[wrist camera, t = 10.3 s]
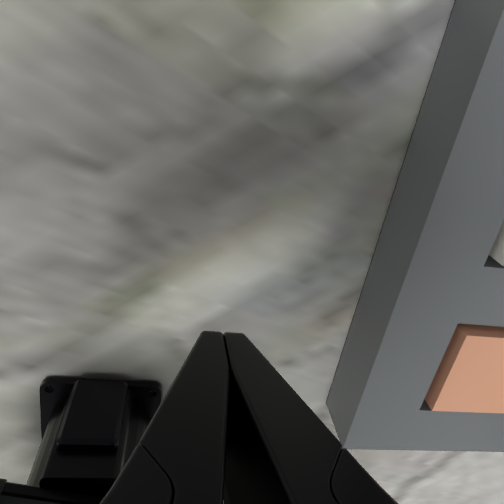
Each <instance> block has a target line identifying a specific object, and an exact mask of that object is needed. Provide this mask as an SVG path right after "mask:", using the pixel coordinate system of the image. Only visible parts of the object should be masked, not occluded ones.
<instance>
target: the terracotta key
mask: <svg viewBox="0 0 504 504" xmlns="http://www.w3.org/2000/svg"><path fill="white" fill-rule="evenodd" d="M425 401H426V402H427V404H428V405H429V407H430V409H431V410H432V411H448V412H476V413H504V327H499V326H486V325H473V324H460V323H458V325H457V327H456V329H455V331H454V334H453V336H452V338H451V340H450V343H449V345H448V347H447V349H446V352H445V354H444V356H443V358H442V360H441V363H440V365H439V367H438V369H437V372H436V374H435V376H434V378H433V381H432V383H431V385H430V387H429V390H428V392H427V394H426V396H425Z"/></svg>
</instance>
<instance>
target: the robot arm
mask: <svg viewBox="0 0 504 504" xmlns="http://www.w3.org/2000/svg"><path fill="white" fill-rule="evenodd" d="M48 386H51V387H53V388H49V387H48ZM151 390H154V391H155V392H151ZM161 392H162V387H161V385H160V384H159V383H156V382H144V381H121V380H98V379H75V378H52V377H51V378H46V379H44V380H43V381H42V384H41V386H40V408H41V431H42V442H41V445H40V447H39V450H38V453H37V456H36V459H35V462H34V464H33V467H32V470H31V473H30V476H29V478H28V481H27V484H26V485H23V484H16V483H10V482H6V481H7V480H6V479H0V504H223V500H224V504H398V503H397V502H396V501H395V500H394V499H393V498H392V497H391V496H390V495H389V494H388V493H387V492H386V491H385V490H384V489H383V488H382V487H381V486H380V485H379V484H378V483H377V482H376V481H375V480H374V479H373V478H372V477H371V476H370V475H369V474H368V473H367V471H366V470H365V469H364V468H363V467H362V466H361V465H360V464H359V463H358V462H357V461H356V459H355V458H354V457H353V456H352V455H351V454H350V453H349V452H348V450H347V449H346V448H343V445H342V444H341V443H340V442H339V441H338V439H337V438H336V437H335V436H334V435H333V434H332V433H331V431H330V430H329V429H328V428H327V427H326V426H325V425H324V424H323V422H322V421H321V420H320V419H319V418H318V417H317V416H316V415H315V413H314V412H313V411H312V410H311V409H310V408H309V407H308V406H307V404H306V403H305V402H304V401H303V400H302V399H301V398H300V396H299V395H298V394H297V393H296V392H295V391H294V390H293V389H292V387H291V386H290V385H289V384H288V383H287V382H286V381H285V380H284V378H283V377H282V376H281V375H280V374H279V373H278V372H277V371H276V369H275V368H274V367H273V366H272V365H271V364H270V363H269V361H268V360H267V359H266V358H265V357H264V356H263V355H262V354H261V352H260V351H259V350H258V349H257V348H256V347H255V346H254V345H253V343H252V342H251V341H250V340H249V339H248V338H247V337H246V336H245V335H244V334H243V333H231V332H225V333H224V334H222V333H221V332H215V331H203V332H202V333H201V334H200V336H199V338H198V339H197V341H196V343H195V345H194V346H193V348H192V350H191V352H190V353H189V355H188V357H187V359H186V360H185V362H184V364H183V366H182V367H181V369H180V371H179V373H178V374H177V376H176V378H175V380H174V381H173V383H172V385H171V387H170V388H169V390H168V392H167V394H166V395H165V397H164V399H163V401H162V402H161ZM160 402H161V404H160ZM342 448H343V449H342Z"/></svg>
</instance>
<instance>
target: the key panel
mask: <svg viewBox="0 0 504 504" xmlns="http://www.w3.org/2000/svg"><path fill="white" fill-rule="evenodd" d="M503 222H504V0H456V1H455V4H454V7H453V10H452V13H451V16H450V19H449V23H448V26H447V29H446V32H445V35H444V38H443V41H442V44H441V47H440V50H439V54H438V57H437V60H436V63H435V66H434V69H433V72H432V75H431V78H430V81H429V85H428V88H427V91H426V94H425V97H424V100H423V103H422V106H421V109H420V112H419V116H418V119H417V122H416V125H415V128H414V131H413V134H412V137H411V140H410V144H409V147H408V150H407V153H406V156H405V159H404V162H403V165H402V168H401V171H400V175H399V178H398V181H397V184H396V187H395V190H394V193H393V196H392V199H391V202H390V206H389V209H388V212H387V215H386V218H385V221H384V224H383V227H382V230H381V233H380V237H379V240H378V243H377V246H376V249H375V252H374V255H373V258H372V261H371V265H370V268H369V271H368V274H367V277H366V280H365V283H364V286H363V289H362V292H361V296H360V299H359V302H358V305H357V308H356V311H355V314H354V317H353V320H352V323H351V327H350V330H349V333H348V336H347V339H346V342H345V345H344V348H343V351H342V354H341V358H340V361H339V364H338V367H337V370H336V373H335V376H334V379H333V382H332V386H331V389H330V392H329V395H328V398H327V401H326V404H327V406H328V409H329V412H330V415H331V418H332V420H333V423H334V426H335V429H336V432H337V434H338V437H339V440H340V443H341V444H342V445H343V448H346V449H375V450H431V451H487V452H504V413H476V412H448V411H432V410H431V409H430V407H429V405H428V404H427V402H426V401H425V396H426V394H427V392H428V390H429V387H430V385H431V383H432V381H433V378H434V376H435V374H436V372H437V369H438V367H439V365H440V363H441V360H442V358H443V356H444V354H445V352H446V349H447V347H448V345H449V343H450V340H451V338H452V336H453V334H454V331H455V329H456V327H457V325H458V323H460V324H473V325H486V326H499V327H504V266H502V265H501V264H500V263H498V262H497V261H496V260H495V259H493V258H492V257H491V256H489V253H490V251H491V248H492V246H493V244H494V242H495V239H496V237H497V235H498V233H499V231H500V228H501V226H502V224H503Z"/></svg>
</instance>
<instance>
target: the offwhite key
mask: <svg viewBox="0 0 504 504" xmlns="http://www.w3.org/2000/svg"><path fill="white" fill-rule="evenodd" d="M489 256H491V257H492V258H493V259H495V260H496V261H497V262H498V263H500V264H501V265H502V266H504V222H503V224H502V226H501V228H500V231H499V233H498V235H497V237H496V239H495V242H494V244H493V246H492V248H491V251H490V253H489Z"/></svg>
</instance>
